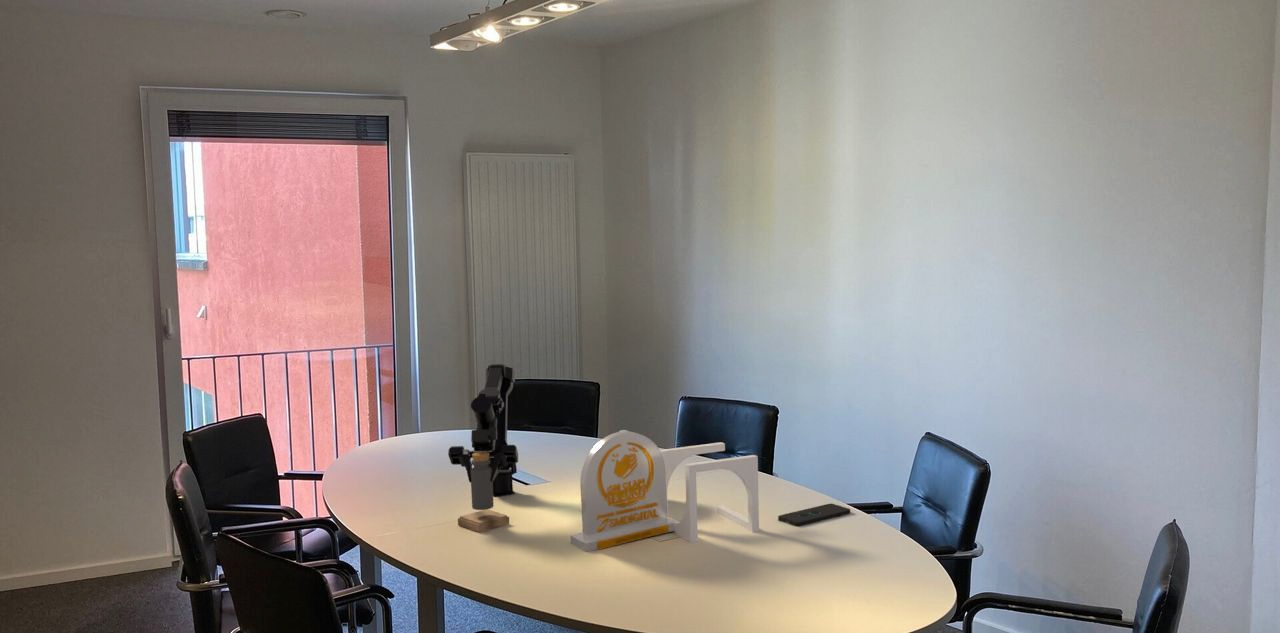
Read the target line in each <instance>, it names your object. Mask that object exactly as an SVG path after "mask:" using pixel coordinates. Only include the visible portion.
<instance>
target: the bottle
mask: <svg viewBox="0 0 1280 633" xmlns="http://www.w3.org/2000/svg"><path fill="white" fill-rule="evenodd" d="M472 457H473V458H472V459H471V463H472V466H473V467H472V469H471V482H470V487H471V488H470V489H471V490H470V492H471V507H472V509H473V510H475V511H476V510H477V511H482V510H486V509H488V510H491V509H493V508H494V495H493V482H491V474H492V468H490V467H489V466H488V464H490V459H489V453H488V452H476V453H473V454H472Z"/></svg>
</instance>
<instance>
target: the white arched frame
mask: <svg viewBox="0 0 1280 633" xmlns="http://www.w3.org/2000/svg"><path fill="white" fill-rule="evenodd" d="M659 450H660V452H661V454H662V456H663V460H664V463H665V471H666V494H667V495H668V487H669V483H670V479H671V477H672V475H673V474H674V471H675V470H676V469H677V467H678V466H680V465H681V463H683V462H684V461H685V460H687V459H689V458H691V457H693V456H696V455H702V454H710V453H717V452H718V453H719V452H725V451H726V443H724V442H721V441H720V442H713V443H712V442H711V443H706V444H699V445H697V444H696V445H688V446H680V447H674V448H665V449H659ZM758 460H759V458H758V455H755V454H750V455H745V456H744V455H742V456H736V457H729V458H719V459H713V460H706V461H705V460H704V461H699V462H692V463H685V464H684V465H685V468H684V469H685V507H684V511H683V515H682V518H681V520H680V521H679V523H678V524H674V526H675V531H672V532H673V533H675V534H676V535H678V536H679V537H681V538H683V539H685V540H687V541H688V542H690V543H696V542H698V540H699V538H698V536H699V535H698V501H697V500H698V499H697V498H698V494H697V493H698V492H697V473H701V472H709V471H716V470H725V471H730V472H732V473H734V474H735V475H736V476H737V477H738V478H739V480H741V482H742V483H743V485H744V487H745V491H746V493H747V513H748V514H747V515H748V516H744V515H742V514H740V513H739V512H736V511H734V509H733V510H732V509H731V508H729V507H727V506H726V505H717V506H716V514H717V515H720V516H722V517H723V518H725V519H727V520H728V521H731V522H733V523H734V524H736V525H739V526H740V527H742V528H744V529H746V530H747V531H749V532H751V533H755V532H760V519H759V518H760V513H759V512H760V510H759V509H760V508H759V506H760V504H759V501H760V500H759V461H758ZM668 510H669V508H668V504H667V517H669V518H671V517H670V516H669V513H668Z"/></svg>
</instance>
